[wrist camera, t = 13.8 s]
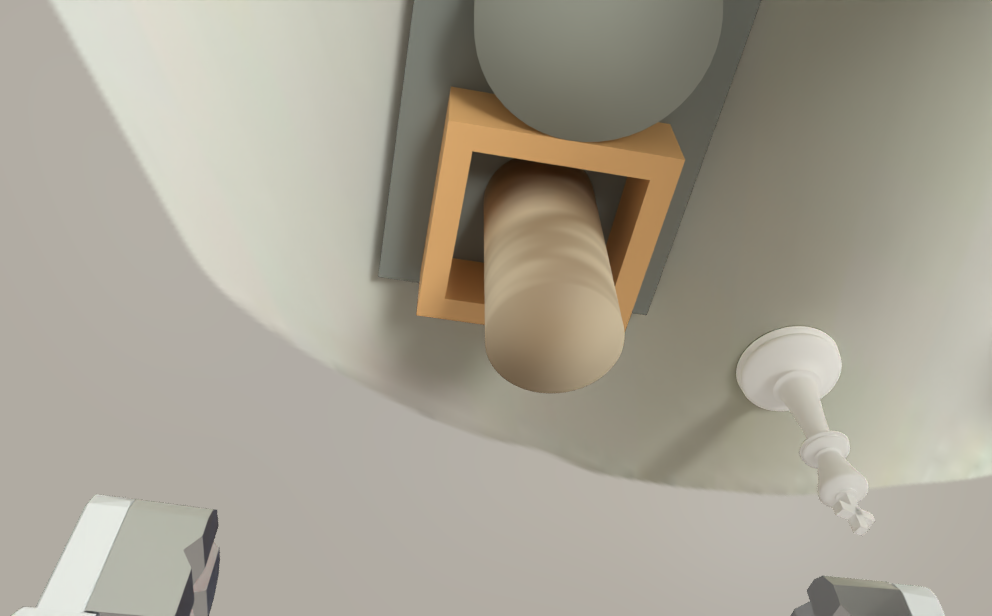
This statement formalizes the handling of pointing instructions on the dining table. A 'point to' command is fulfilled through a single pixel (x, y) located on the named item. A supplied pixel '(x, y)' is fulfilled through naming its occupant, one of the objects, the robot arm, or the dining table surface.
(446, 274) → the base
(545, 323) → the wooden peg
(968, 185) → the dining table surface
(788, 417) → the dining table surface
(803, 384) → the chess piece
